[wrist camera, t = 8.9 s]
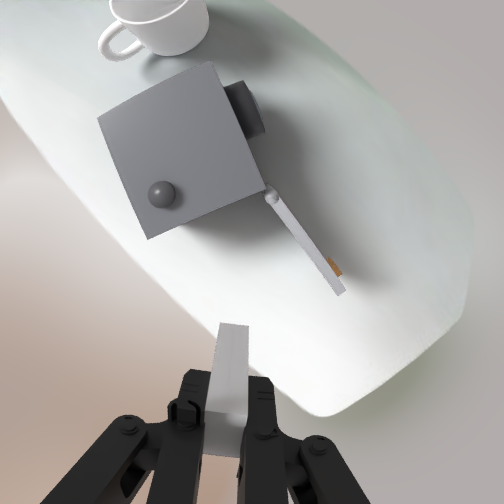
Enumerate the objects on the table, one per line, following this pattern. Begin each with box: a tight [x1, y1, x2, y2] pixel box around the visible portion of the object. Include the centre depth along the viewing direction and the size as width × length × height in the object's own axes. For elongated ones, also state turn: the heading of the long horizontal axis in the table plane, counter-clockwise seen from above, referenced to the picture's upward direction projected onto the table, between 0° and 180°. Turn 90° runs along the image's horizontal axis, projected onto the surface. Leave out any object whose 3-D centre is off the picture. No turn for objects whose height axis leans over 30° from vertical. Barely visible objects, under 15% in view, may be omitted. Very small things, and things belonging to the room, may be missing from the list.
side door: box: [262, 184, 346, 296], centre depth 31 cm, size 2×12×8 cm, turn 37°
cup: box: [98, 0, 209, 62], centre depth 24 cm, size 8×12×10 cm
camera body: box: [97, 60, 266, 240], centre depth 28 cm, size 12×13×10 cm
